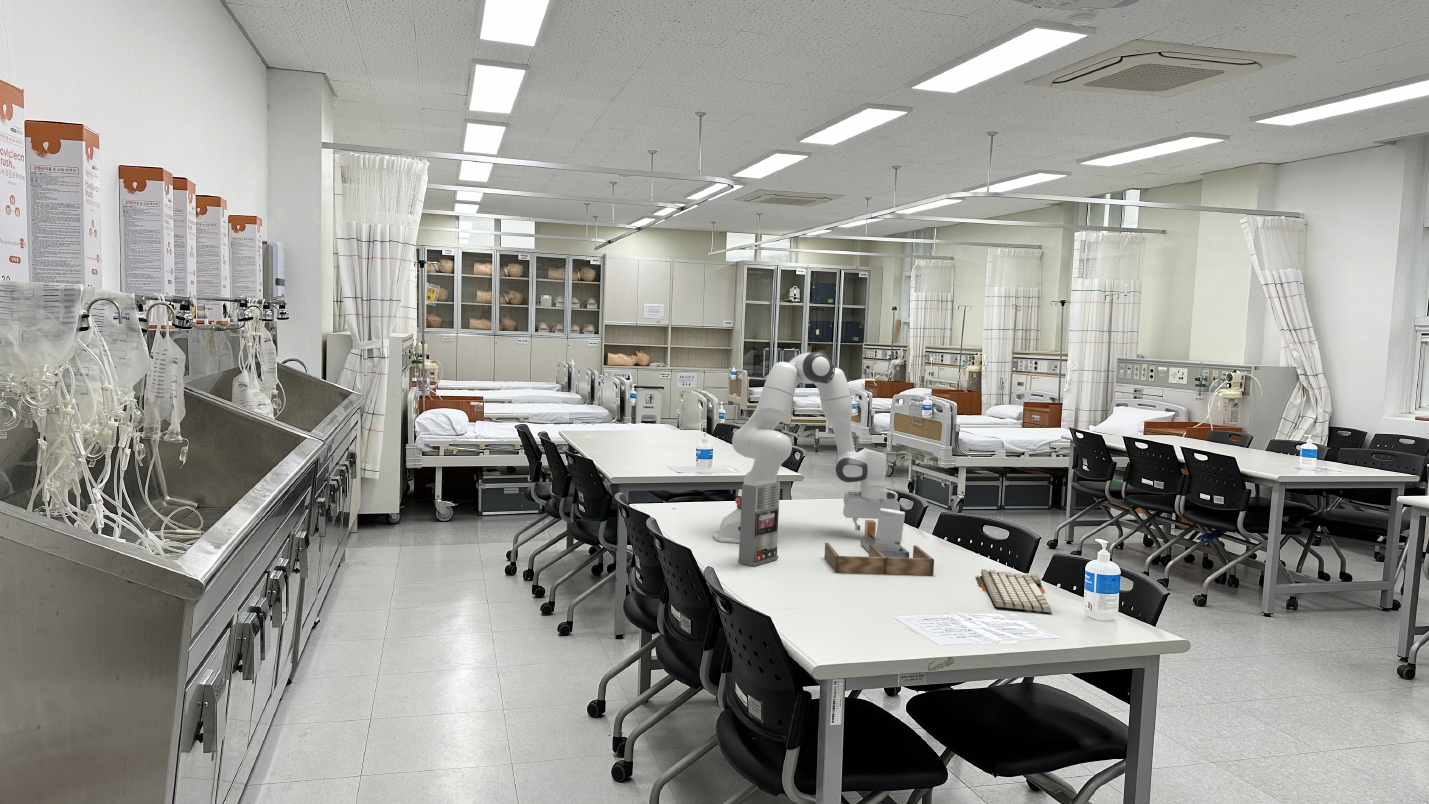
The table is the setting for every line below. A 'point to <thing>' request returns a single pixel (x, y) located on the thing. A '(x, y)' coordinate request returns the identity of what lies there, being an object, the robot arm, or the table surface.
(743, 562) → the cassette tape recorder
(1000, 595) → the mechanical keyboard
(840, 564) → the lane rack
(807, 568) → the table surface
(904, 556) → the pull frame
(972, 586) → the table surface
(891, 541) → the skincare box
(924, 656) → the table surface
